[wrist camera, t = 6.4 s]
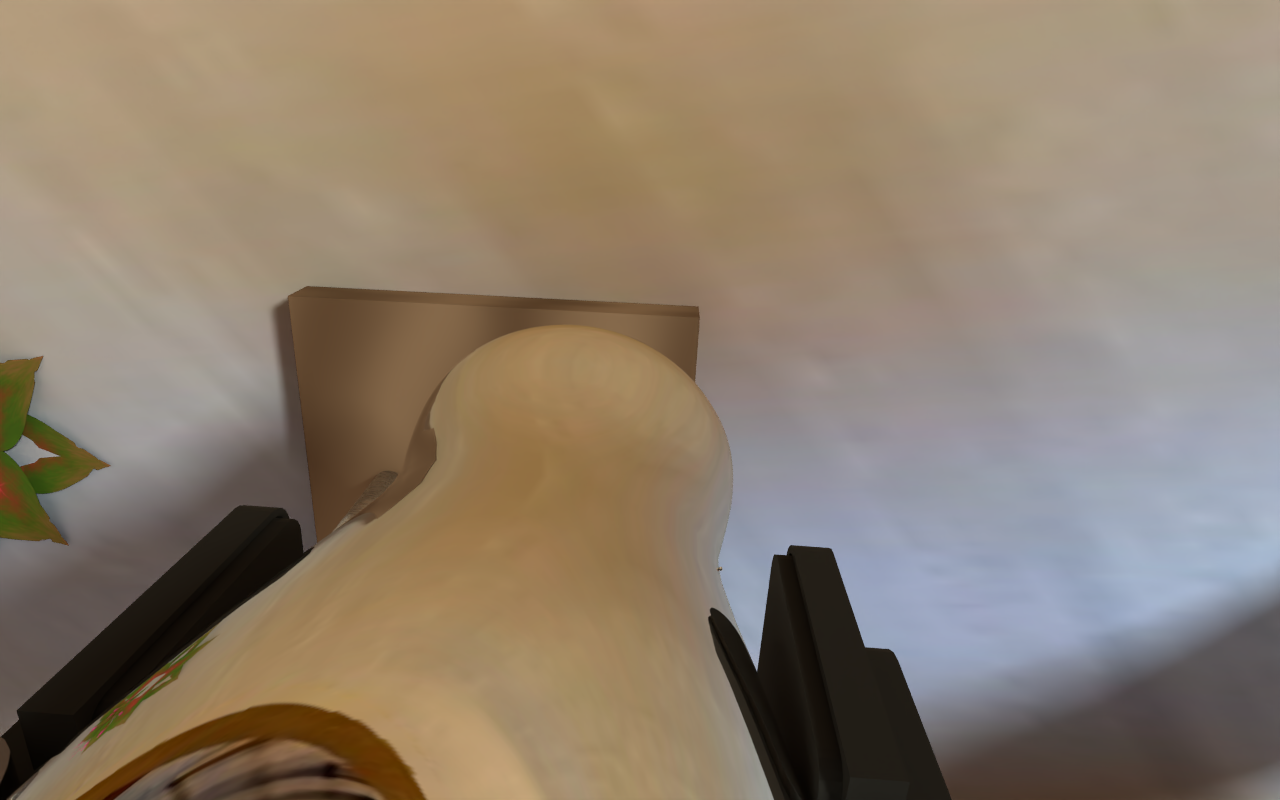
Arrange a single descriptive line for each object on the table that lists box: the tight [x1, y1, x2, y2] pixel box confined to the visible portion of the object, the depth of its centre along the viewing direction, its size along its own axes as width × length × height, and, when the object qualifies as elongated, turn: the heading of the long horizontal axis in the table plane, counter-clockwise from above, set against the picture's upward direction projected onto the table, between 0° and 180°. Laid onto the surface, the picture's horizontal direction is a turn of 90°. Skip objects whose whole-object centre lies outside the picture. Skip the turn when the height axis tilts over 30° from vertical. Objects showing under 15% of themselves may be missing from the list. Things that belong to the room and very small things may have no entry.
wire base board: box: [288, 286, 700, 543], centre depth 30 cm, size 14×14×2 cm
